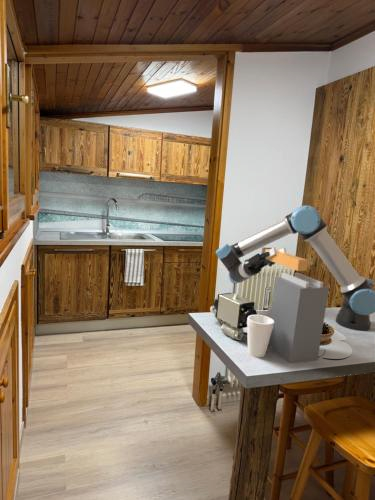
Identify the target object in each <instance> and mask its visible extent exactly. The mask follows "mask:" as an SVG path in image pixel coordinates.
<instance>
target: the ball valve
mask: <svg viewBox="0 0 375 500" xmlns="http://www.w3.org/2000/svg"><path fill="white" fill-rule="evenodd" d="M255 304H256V303H255V302H254V301H252V300H249V299H248V298H246V297H244V296H239V294H238V293H233V292H227V293H226V292H225V293H218V294H217V297H215V300H214V301H213V305H214V308H215V310H216V317H217V318H219V319H221V320H222V322H224V323H223V324H222V325H221V329H220V330H221V331H222V333H223V334H225V335H226V336H228V337H230V338H231V339H233V340H236V341H241V340H242V339H243V338H244V332H245V331H244V329H245V328H247V318H248V316H250V315H258V313H257V310H256V309H255V308H256V307H255Z"/></svg>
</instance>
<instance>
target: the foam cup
mask: <svg viewBox="0 0 375 500" xmlns="http://www.w3.org/2000/svg"><path fill="white" fill-rule="evenodd" d="M273 327H274V320H273V319H271V318H270V316H266V315H261V314H257V315H250V316H248V318H247V327H246V328H247V329H246V330H247V331H246V332H247V353H248V355H250V356H252V357H254V358H263V357H265V356H266V355H267V349H268V347H269V346H268V343H269V340H270V336H271V332H272V329H273Z"/></svg>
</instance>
